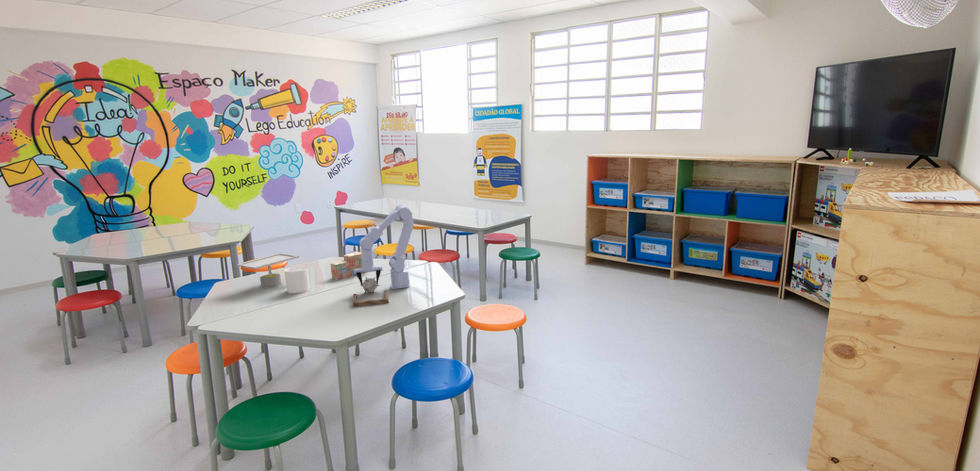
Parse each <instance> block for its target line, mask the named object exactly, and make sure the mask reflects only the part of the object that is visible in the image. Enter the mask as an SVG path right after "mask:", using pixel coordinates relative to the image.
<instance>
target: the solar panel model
mask: <svg viewBox="0 0 980 471" xmlns="http://www.w3.org/2000/svg"><path fill="white" fill-rule="evenodd" d="M298 258H300V256H299V255H296V254H291V253H290V254H289V253H283V252H278V253H274V254H270V255H267V256H264V257H260V258H256V259H251V260H248V261H244V262H241V263H236V267H240V268H245V269H252V270H258V269H263V268H266V267H267V270H268V274H265V275H262V276H260V277H259V279H260V286H261V287H260V288H262V289H272V288H276V287H279V286H281V285H282V281H281V274H280V273H272V268H271V267H272V266H273V265H276V264H279V263H283V262H287V261H291V260H295V259H298Z"/></svg>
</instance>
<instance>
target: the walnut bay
mask: <svg viewBox="0 0 980 471" xmlns="http://www.w3.org/2000/svg"><path fill="white" fill-rule="evenodd" d="M388 294H389V293H388V290H387V289H385V290H383V295H384V298H376V299H368V300H360V301H358V300H357V293H353V295H352V307H353V308H357V307H365V306H373V305H381V304H382V305H383V304H389V303H390V302H389V295H388Z"/></svg>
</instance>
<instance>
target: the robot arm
mask: <svg viewBox="0 0 980 471" xmlns="http://www.w3.org/2000/svg"><path fill="white" fill-rule="evenodd" d="M395 221H401V222H402V223H403V226H402V228H401V232H400V236H399V239H398V241H397V246H396V249H395V252H394V253H393V254H392V256H391V258H390V259H389V261H388V265H389V267H390V271H389V272H390V281H391V283H390V288H391V289H392V290H395V289H397V290H398V289H404V288H405V289H406V288H409V287H410V280H409V270H408V269H405V265H406V264H405V260H406V257H405V255H406V252H407V248H408V245H409V242H410V238H411V234H412V232H413V229H414V225H415V221H414V218H413V212H412V211H411V209H410V208H409V207H406V206H404V205H401V204H400V205H397V206H396V207H395V208H394V209H393V210H391V212H390V213H389V214H388V215H387V216H386V217H385V219H384V220H383V221H381V223H380V224H379V225H378V226H374V227H371V228H370V231H369V232H368V233H367V234H365V235H364V237H362V238H361V239H360V240H359V242H358V244H359V247H360V249H361V250H360V251H361V256H362V267H363V268H359V269H354V274H356V275H355V276H356V277H357V279H358V280H359V283H360V286H361V287H363V286H362V285H361V284H363V282H364V281H363V276H362V274H364V273H363V272H366V273H373V272H375V276H376V277H375V281H376V283H377V285H379V279H380V275H381V272H383V271H384V270H383V266H374V256H373V254H374V253H373V247H374V244H375V243H376V242H377V241H378V240H379V238H381V237H382V235H384V233H383V232H384V230H385V229H387V228H388V227H389V226H391V224H392V223H393V222H395ZM361 273H362V274H361Z"/></svg>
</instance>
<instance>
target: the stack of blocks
mask: <svg viewBox="0 0 980 471" xmlns="http://www.w3.org/2000/svg"><path fill="white" fill-rule="evenodd" d="M359 268H363V267H362V256H361V250H360V251H355V252H352V253H348V254H344V255H343V260H340V261H339V260H338V261H335V262H334V261H333V262H330V271H331V272H330V273H331V278H332V279H334V280H337V281H338V280H342V279H346V278H350V277H354V276H357V275H356V274H354V269H359ZM361 274H366V273H365V272H363V273H361Z"/></svg>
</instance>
